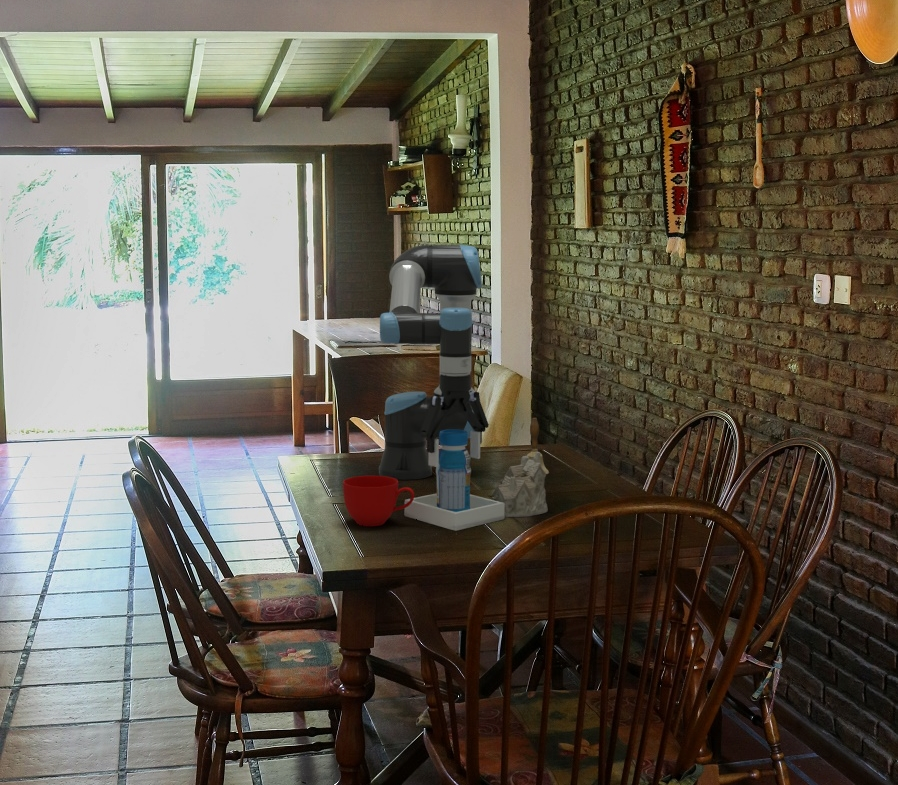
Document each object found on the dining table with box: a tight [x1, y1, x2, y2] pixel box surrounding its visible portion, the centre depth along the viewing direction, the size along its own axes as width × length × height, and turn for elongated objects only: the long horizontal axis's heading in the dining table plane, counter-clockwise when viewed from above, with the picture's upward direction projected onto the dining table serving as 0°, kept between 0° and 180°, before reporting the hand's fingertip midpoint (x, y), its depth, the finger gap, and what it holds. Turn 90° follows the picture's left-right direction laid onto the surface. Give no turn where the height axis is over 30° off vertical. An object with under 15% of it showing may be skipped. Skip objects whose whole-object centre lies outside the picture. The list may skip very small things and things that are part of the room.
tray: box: [404, 492, 505, 531], centre depth 265 cm, size 18×16×4 cm
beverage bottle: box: [435, 429, 472, 512], centre depth 264 cm, size 8×8×20 cm
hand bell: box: [526, 417, 550, 475], centre depth 317 cm, size 8×8×16 cm
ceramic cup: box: [342, 475, 415, 527], centre depth 259 cm, size 13×17×10 cm
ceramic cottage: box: [492, 451, 549, 518], centre depth 273 cm, size 16×16×15 cm
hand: (454, 461), depth 264 cm, fingers open, 13 cm apart
